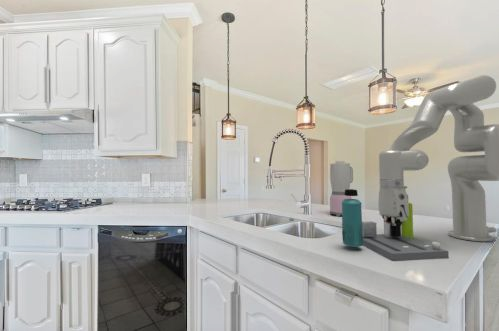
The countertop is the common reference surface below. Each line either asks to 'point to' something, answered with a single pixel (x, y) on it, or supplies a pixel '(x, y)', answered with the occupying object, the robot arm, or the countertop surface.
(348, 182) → the blender
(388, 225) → the fader tab
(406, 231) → the soap dispenser
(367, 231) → the fader tab
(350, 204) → the beverage bottle
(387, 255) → the console
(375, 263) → the countertop surface
